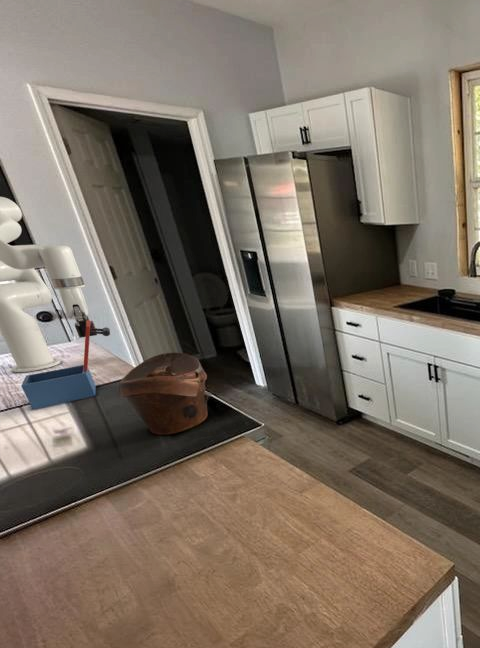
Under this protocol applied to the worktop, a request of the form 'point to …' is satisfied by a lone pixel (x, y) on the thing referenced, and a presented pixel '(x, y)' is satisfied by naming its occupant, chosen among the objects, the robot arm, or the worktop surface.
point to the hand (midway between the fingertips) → (88, 334)
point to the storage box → (58, 386)
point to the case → (167, 392)
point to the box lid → (95, 331)
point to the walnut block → (78, 329)
